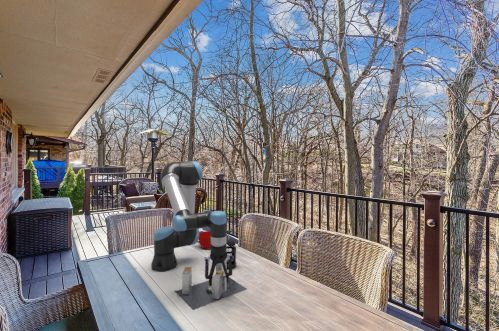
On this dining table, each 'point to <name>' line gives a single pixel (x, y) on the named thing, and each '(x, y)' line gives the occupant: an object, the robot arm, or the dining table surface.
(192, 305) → the board
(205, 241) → the ceramic cup
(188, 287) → the orange and grey block
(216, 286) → the banded metal block
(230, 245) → the french press
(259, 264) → the dining table surface
